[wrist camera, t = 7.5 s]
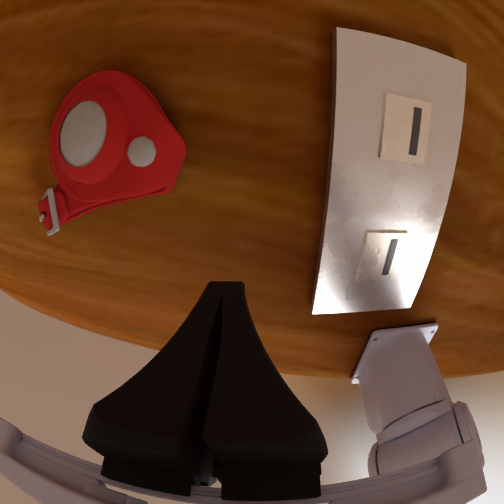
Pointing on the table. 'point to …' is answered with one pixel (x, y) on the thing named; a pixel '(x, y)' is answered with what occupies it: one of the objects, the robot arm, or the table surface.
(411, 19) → the table surface
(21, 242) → the table surface
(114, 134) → the tracker holder
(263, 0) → the table surface
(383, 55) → the white slotted plate
